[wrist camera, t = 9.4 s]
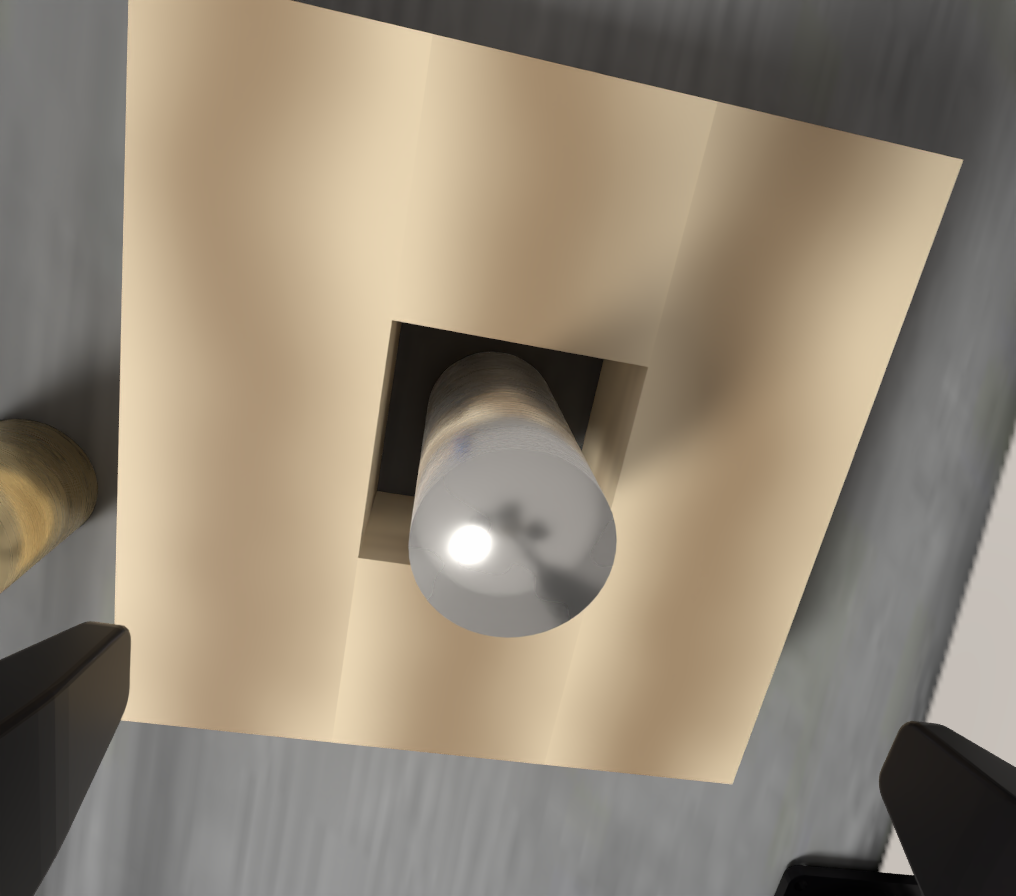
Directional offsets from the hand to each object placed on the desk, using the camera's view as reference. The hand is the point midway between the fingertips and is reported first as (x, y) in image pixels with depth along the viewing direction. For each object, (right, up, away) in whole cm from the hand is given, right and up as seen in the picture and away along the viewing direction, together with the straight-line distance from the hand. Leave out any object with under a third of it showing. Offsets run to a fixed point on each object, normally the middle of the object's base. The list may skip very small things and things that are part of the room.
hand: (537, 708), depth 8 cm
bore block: (-1, +4, +11) cm, 12 cm away
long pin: (-1, +4, +11) cm, 12 cm away
